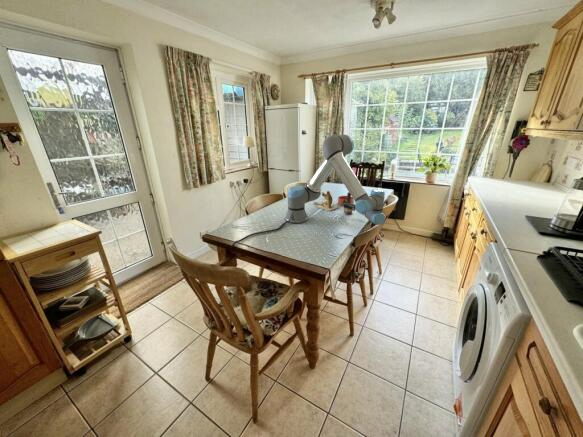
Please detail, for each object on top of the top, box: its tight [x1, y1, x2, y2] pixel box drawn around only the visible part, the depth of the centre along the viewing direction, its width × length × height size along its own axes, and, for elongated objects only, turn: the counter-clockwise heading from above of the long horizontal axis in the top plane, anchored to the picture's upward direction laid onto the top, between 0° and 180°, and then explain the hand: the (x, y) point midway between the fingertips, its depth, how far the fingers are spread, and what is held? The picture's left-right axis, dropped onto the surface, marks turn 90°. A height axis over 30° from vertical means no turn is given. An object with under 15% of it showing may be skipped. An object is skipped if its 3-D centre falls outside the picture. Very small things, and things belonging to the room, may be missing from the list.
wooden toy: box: [313, 190, 339, 212], centre depth 190 cm, size 22×10×14 cm, turn 37°
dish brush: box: [343, 191, 353, 216], centre depth 173 cm, size 6×4×16 cm
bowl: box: [337, 195, 355, 207], centre depth 196 cm, size 13×13×6 cm
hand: (352, 201), depth 165 cm, fingers open, 13 cm apart
